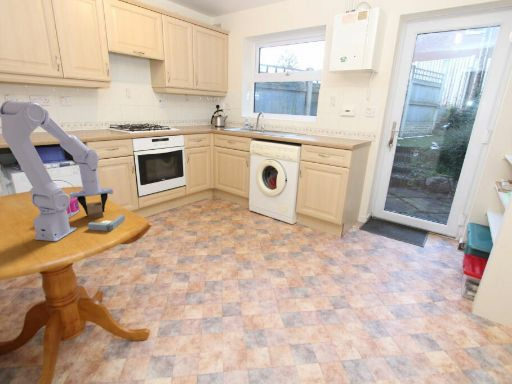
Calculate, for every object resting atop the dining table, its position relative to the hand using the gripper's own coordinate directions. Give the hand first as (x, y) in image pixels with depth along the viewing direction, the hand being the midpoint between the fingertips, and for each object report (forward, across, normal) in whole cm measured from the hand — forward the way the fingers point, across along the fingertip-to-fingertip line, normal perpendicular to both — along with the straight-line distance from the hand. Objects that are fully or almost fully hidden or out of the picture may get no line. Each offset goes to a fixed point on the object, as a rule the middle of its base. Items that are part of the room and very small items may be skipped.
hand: (95, 212), depth 111 cm
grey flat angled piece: (+1, -3, +11) cm, 12 cm away
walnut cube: (+1, 0, 0) cm, 1 cm away
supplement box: (-2, +8, -9) cm, 12 cm away
